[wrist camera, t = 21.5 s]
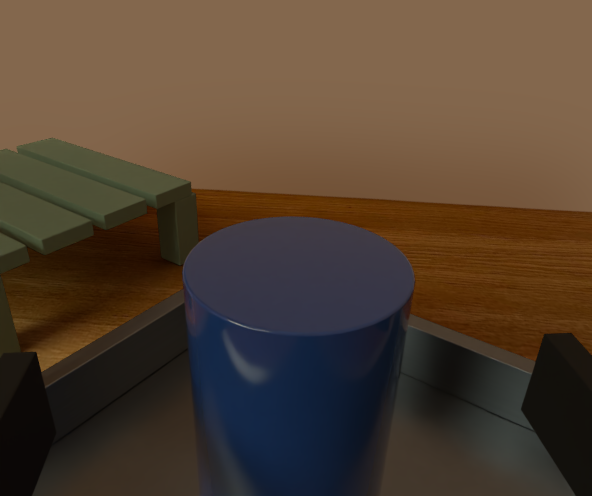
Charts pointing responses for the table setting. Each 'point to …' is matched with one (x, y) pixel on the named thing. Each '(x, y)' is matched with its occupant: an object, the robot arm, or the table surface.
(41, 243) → the rack
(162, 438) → the tray
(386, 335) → the navy blue cylinder
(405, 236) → the table surface
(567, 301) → the table surface
